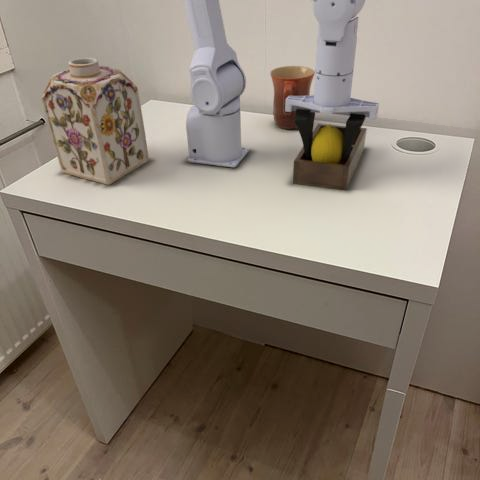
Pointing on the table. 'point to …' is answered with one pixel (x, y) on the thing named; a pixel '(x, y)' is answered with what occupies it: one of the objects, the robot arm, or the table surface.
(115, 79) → the decorative jar
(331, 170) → the caddy
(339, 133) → the lemon
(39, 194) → the table surface
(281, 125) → the mug
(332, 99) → the robot arm
